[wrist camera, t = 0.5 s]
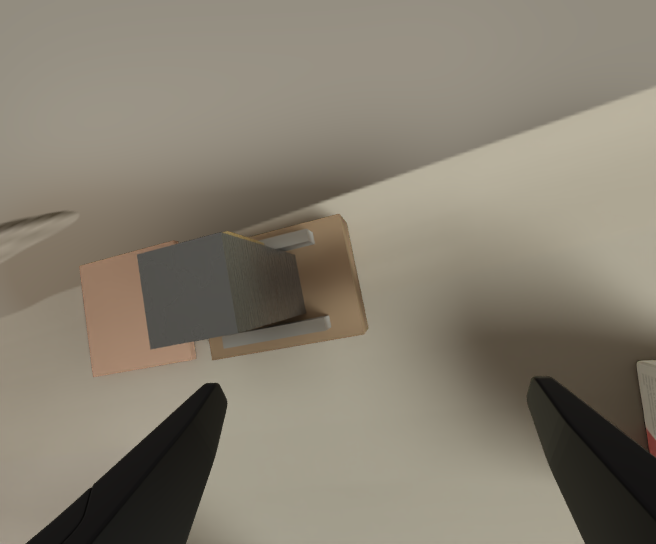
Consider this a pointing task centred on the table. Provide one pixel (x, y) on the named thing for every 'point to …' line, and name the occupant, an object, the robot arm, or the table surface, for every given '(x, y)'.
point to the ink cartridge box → (648, 399)
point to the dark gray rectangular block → (216, 288)
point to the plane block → (309, 291)
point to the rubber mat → (122, 317)
